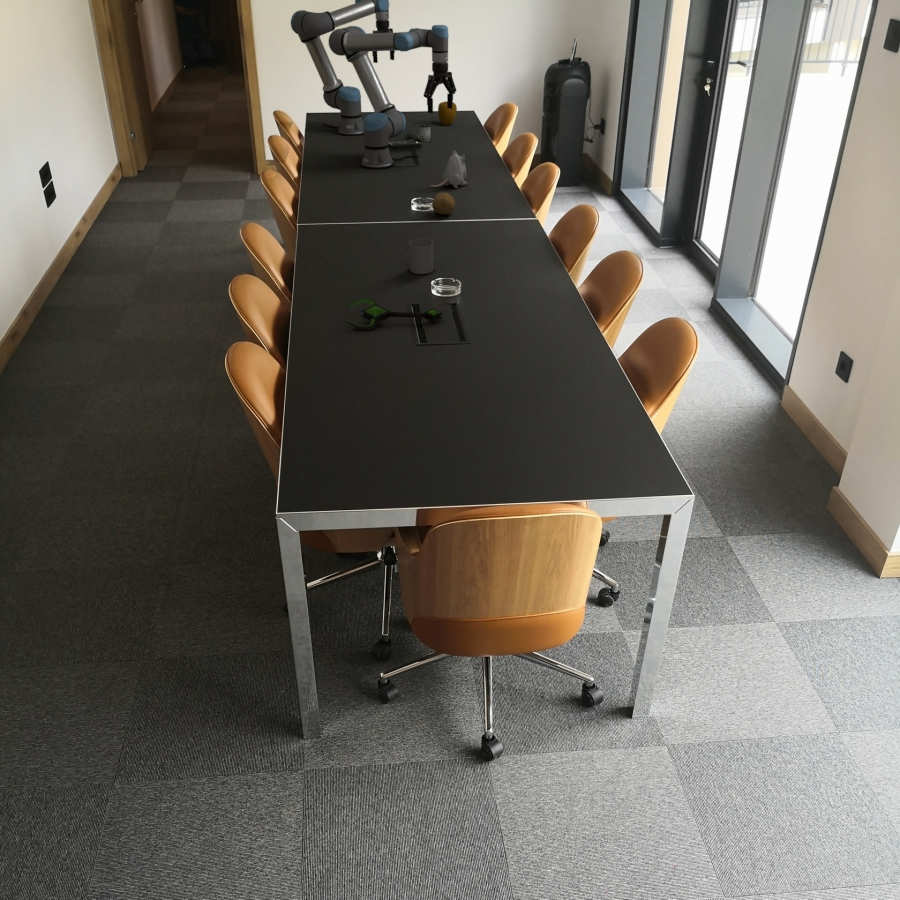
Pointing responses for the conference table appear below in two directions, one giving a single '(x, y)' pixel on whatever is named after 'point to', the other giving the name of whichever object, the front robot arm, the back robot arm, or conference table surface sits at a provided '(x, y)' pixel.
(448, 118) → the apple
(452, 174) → the toy
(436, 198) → the potato
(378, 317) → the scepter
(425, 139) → the camera lens
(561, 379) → the conference table surface
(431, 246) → the cup
